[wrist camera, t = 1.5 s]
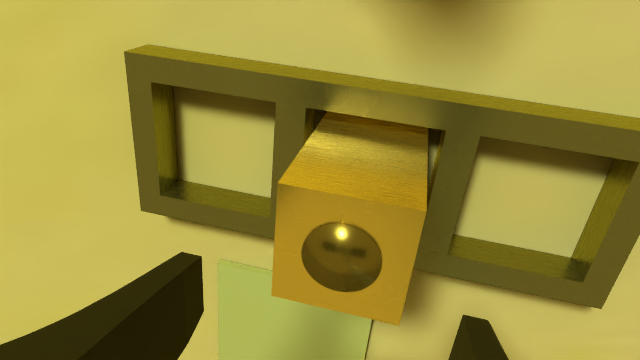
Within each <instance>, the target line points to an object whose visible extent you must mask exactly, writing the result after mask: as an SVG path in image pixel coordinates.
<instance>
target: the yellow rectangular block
mask: <svg viewBox="0 0 640 360" xmlns="http://www.w3.org/2000/svg"><path fill="white" fill-rule="evenodd" d="M427 166H428V127H422V126H416V125H410V124H404V123H398V122H391V121H385V120H379V119H373V118H367V117H361V116H355V115H349V114H343V113H337V112H330V111H327V113H326V114H325V115H324V117H323V118H322V120H321V121H320V123H319V124H318V126H317V127H316V128H315V130H314V131H313V133H312V134H311V136H310V137H309V139H308V140H307V141H306V143H305V144H304V146H303V147H302V149H301V150H300V152H299V153H298V154H297V156H296V157H295V159H294V160H293V162H292V163H291V164H290V166H289V167H288V169H287V170H286V172H285V173H284V175H283V176H282V177H281V179H280V180H279V182H278V187H277V204H276V221H275V239H274V256H273V273H272V291H271V296H274V297H279V298H283V299H287V300H291V301H296V302H300V303H304V304H309V305H313V306H317V307H321V308H326V309H330V310H334V311H338V312H343V313H347V314H351V315H355V316H360V317H364V318H368V319H373V320H377V321H381V322H385V323H390V324H394V325H398V326H399V324H400V320H401V316H402V312H403V308H404V304H405V299H406V295H407V291H408V287H409V283H410V279H411V274H412V270H413V266H414V262H415V258H416V254H417V249H418V245H419V241H420V237H421V233H422V229H423V225H424V220H425V216H426V212H427Z"/></svg>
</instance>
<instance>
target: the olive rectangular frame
mask: <svg viewBox="0 0 640 360" xmlns="http://www.w3.org/2000/svg"><path fill="white" fill-rule="evenodd" d="M124 55H125V64H126V74H127V83H128V92H129V102H130V111H131V121H132V130H133V139H134V149H135V158H136V168H137V177H138V187H139V196H140V205H141V211H144V212H149V213H154V214H158V215H163V216H168V217H173V218H177V219H182V220H187V221H191V222H196V223H201V224H205V225H210V226H215V227H219V228H224V229H229V230H233V231H238V232H243V233H248V234H252V235H257V236H262V237H266V238H271V239H275V221H276V204H277V187H278V182H279V180H280V179H281V177H282V176H283V175H284V173H285V172H286V170H287V169H288V167H289V166H290V164H291V163H292V162H293V160H294V159H295V157H296V156H297V154H298V153H299V152H300V150H301V149H302V147H303V146H304V144H305V143H306V141H307V140H308V139H309V137H310V136H311V134H312V133H313V123H314V112H315V109H318V110H324V111H330V112H337V113H343V114H349V115H355V116H361V117H367V118H373V119H379V120H385V121H391V122H398V123H404V124H410V125H416V126H422V127H428V128H434V129H440V130H442V133H441V137H440V141H439V145H438V150H437V154H436V158H435V162H434V166H433V171H432V175H431V179H430V183H429V188H428V192H427V212H426V216H425V220H424V225H423V229H422V233H421V237H420V241H419V245H418V249H417V254H416V258H415V262H414V266H413V269H416V270H421V271H426V272H430V273H435V274H440V275H444V276H449V277H454V278H458V279H463V280H468V281H472V282H477V283H482V284H486V285H491V286H496V287H500V288H505V289H510V290H515V291H519V292H524V293H529V294H533V295H538V296H543V297H547V298H552V299H557V300H561V301H566V302H571V303H575V304H580V305H585V306H589V307H594V308H599V309H602V307H603V305H604V303H605V301H606V299H607V297H608V295H609V293H610V291H611V289H612V287H613V285H614V283H615V281H616V279H617V278H618V276H619V274H620V272H621V270H622V268H623V266H624V264H625V262H626V260H627V258H628V256H629V254H630V252H631V250H632V248H633V246H634V244H635V242H636V241H637V239H638V237H639V235H640V118H633V117H627V116H620V115H613V114H607V113H600V112H593V111H587V110H580V109H573V108H567V107H560V106H553V105H547V104H540V103H533V102H527V101H520V100H513V99H507V98H500V97H493V96H487V95H480V94H473V93H467V92H460V91H453V90H447V89H440V88H433V87H427V86H420V85H413V84H407V83H400V82H393V81H387V80H380V79H373V78H367V77H360V76H353V75H347V74H340V73H333V72H327V71H320V70H313V69H307V68H300V67H293V66H287V65H280V64H273V63H267V62H260V61H253V60H247V59H240V58H233V57H227V56H220V55H213V54H207V53H200V52H193V51H187V50H180V49H173V48H167V47H160V46H153V45H145V46H141V47H138V48H135V49H131V50H128V51H124ZM173 86H178V87H184V88H190V89H196V90H202V91H208V92H215V93H221V94H227V95H233V96H239V97H245V98H251V99H257V100H263V101H269V102H276V110H275V129H274V149H273V169H272V189H271V198H267V197H262V196H257V195H252V194H247V193H242V192H237V191H232V190H227V189H222V188H217V187H212V186H207V185H202V184H197V183H192V182H187V181H182V180H178V167H177V150H176V133H175V116H174V99H173ZM480 136H483V137H489V138H495V139H501V140H507V141H513V142H519V143H526V144H532V145H538V146H544V147H550V148H556V149H562V150H568V151H574V152H580V153H587V154H593V155H599V156H605V157H611V158H615V160H614V162H613V165H612V167H611V169H610V171H609V174H608V176H607V178H606V180H605V183H604V185H603V187H602V190H601V192H600V194H599V196H598V199H597V201H596V203H595V205H594V208H593V210H592V212H591V214H590V217H589V219H588V221H587V224H586V226H585V228H584V230H583V233H582V235H581V237H580V239H579V242H578V244H577V246H576V248H575V251H574V253H573V255H572V258H569V257H564V256H559V255H554V254H549V253H544V252H539V251H534V250H529V249H524V248H519V247H514V246H508V245H503V244H498V243H493V242H488V241H483V240H478V239H473V238H468V237H463V236H458V235H453V233H454V229H455V226H456V222H457V218H458V215H459V211H460V208H461V204H462V201H463V197H464V194H465V190H466V186H467V183H468V179H469V176H470V172H471V169H472V165H473V161H474V158H475V154H476V151H477V147H478V144H479V140H480Z"/></svg>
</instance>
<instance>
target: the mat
mask: <svg viewBox="0 0 640 360" xmlns="http://www.w3.org/2000/svg"><path fill="white" fill-rule="evenodd" d="M272 273H273V271H270V270H265V269H261V268H256V267H252V266H247V265H243V264H239V263H234V262H230V261H225V260H221V259H220V261H219V262H218V329H219V360H364V357H365V352H366V347H367V342H368V337H369V332H370V327H371V322H372V319H368V318H364V317H360V316H355V315H351V314H347V313H343V312H338V311H334V310H330V309H326V308H321V307H317V306H313V305H309V304H304V303H300V302H296V301H291V300H287V299H283V298H279V297H274V296H271V291H272Z"/></svg>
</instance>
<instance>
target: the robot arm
mask: <svg viewBox="0 0 640 360" xmlns="http://www.w3.org/2000/svg"><path fill="white" fill-rule="evenodd" d="M203 312H204V305H203V279H202V256H197V255H193V254H188V253H184V252H181V253H179V254H177V255H176V256H174V257H172V258H170V259H169V260H167V261H165V262H164V263H162V264H161V265H159V266H157V267H156V268H154V269H152V270H151V271H149V272H147V273H146V274H144V275H142V276H141V277H139V278H137V279H136V280H134V281H132V282H131V283H129V284H127V285H125V286H124V287H122V288H120V289H119V290H117V291H115V292H113V293H112V294H110V295H108V296H106V297H104V298H102V299H100V300H99V301H97V302H95V303H93V304H91V305H89V306H87V307H85V308H84V309H82V310H80V311H78V312H76V313H74V314H72V315H70V316H68V317H66V318H64V319H61V320H59V321H57V322H55V323H53V324H50V325H48V326H46V327H44V328H41V329H39V330H37V331H35V332H32V333H30V334H28V335H25V336H22V337H20V338H17V339H15V340H12V341H9V342H7V343H4V344H1V345H0V360H177V359H178V358H179V356H180V355H181V353H182V352H183V350H184V349H185V347H186V345H187V344H188V342H189V340H190V338H191V336H192V334H193V332H194V330H195V328H196V326H197V324H198V322H199V320H200V318H201V316H202V314H203ZM449 360H509V359H508V358H507V356H506V354H505V352H504V350H503V348H502V346H501V344H500V342H499V340H498V338H497V336H496V334H495V332H494V330H493V328H492V326H491V324H490V323H489V322H488V320H485V319H480V318H476V317H471V316H467V315H463V316H462V319H461V323H460V326H459V329H458V332H457V335H456V338H455V341H454V344H453V347H452V351H451V354H450V357H449Z"/></svg>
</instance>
